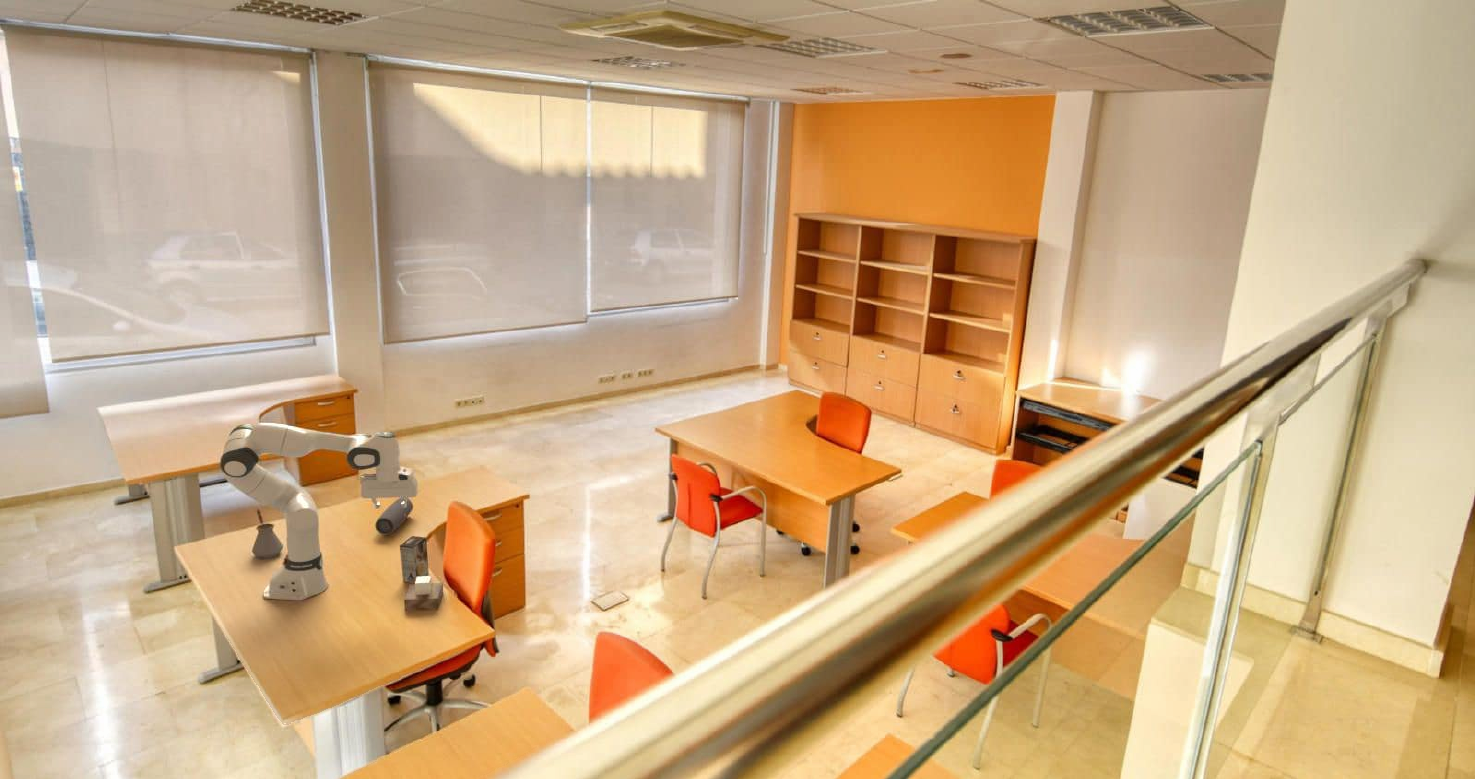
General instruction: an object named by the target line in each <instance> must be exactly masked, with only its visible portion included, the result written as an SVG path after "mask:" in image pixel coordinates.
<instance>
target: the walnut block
mask: <svg viewBox="0 0 1475 779" xmlns="http://www.w3.org/2000/svg"><path fill="white" fill-rule="evenodd" d="M443 596H444V583H443V582H433V583H432V582H431V591H430V594H424V595H416V589H415V583H410V584H409V587H408V588H407V591H406V595H405V596H404V600H403V602H404V603H403V604H404V612H411V611H412V612H415V611H431V610H432V611H435V610H437V611H438V610H439V608H440V605H441V602H442V599H443Z"/></svg>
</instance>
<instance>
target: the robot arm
mask: <svg viewBox="0 0 1475 779" xmlns="http://www.w3.org/2000/svg"><path fill="white" fill-rule="evenodd" d="M223 447H224V448H223V452H222V456H221V457H220V468H221V471H222V472H223V476H224V478H225V480H226V481H227V482H228V483H229V484H231V485H232V486H233V488H236V489H237V490H238V491H240V492H241V493H242V494H244V495H246V496H247V497H249V498H251V500H254V501H255V502H257V503H258V504H260V505H262V506H265V507H268V508H271V509H273V510H276V511H278V512H280V513H281V514H282V515H283V517H284V519H285V523H286V526H285V527H286V539H285V540H286V546H287V553H286V554H285V556H284V558H283V561H282V562H281V563H282V566H281V567H280V568H278V569H277V570H276V571H275V572H274V573H273V574H272V576H271V577H270V581H269V583H268V585H267V586H266V587H265V588H264V590H263V592H262V594H263V595H262V597H263V599H267V600H269V599H270V600H284V601H285V600H287V601H304V600H306V599H307V598H310V597H312V596H317V595H320V594H321V593H323V592H324V591H326V590H327V589H328V587H329V583H328V581H327V579H326V575H325V572H324V568H323V567H324V560H323V554H322V551H321V548H320V547H321V546H320V537H319V531H320V530H319V527H320V524H319V523H320V520H319V519H320V518H319V517H320V516H319V509H318V507H317V505H316V503H315V501H314V499H313V498H312V496H311V494H310V493H309V492H308V491H306V490H304V489H303V488H300V487H298V486H296V485H294V484H292V483H289V482H287V481H286V480H283V479H282V478H280V477H278V476H277V475H276V474H274V473H273V472H272V471H271V472H270V471H269V470H268V469H267V468H265V467H262V466H261V465H260V464H259V463H258V462H259V461H260V456H261V455H264V454H272V455H275V456H282V457H286V458H287V457H288V458H302V457H304V456H305V457H306V456H307V455H308V454H310V453H311V452H314V451H316V450H329V451H336V452H343V453H346V461H347V464H348V465H349V467H350V468H351V469H354V470H357V471H362V470H368V469H372V468H374V469H375V473H363V474H362V475H361V476H360V477H359V483H360V484H361V488H360V496H361V497H362V498H363V499H371V502H372V503H373V504H374V508H375V509H380V508H381V502H378V500H377V499H381V498H382V499H383V498H384V499H386V498H389V499H390V498H392V499H393V498H402V497H404V500H405V502H402V504H401V505H402V508H406V506H407V505H406V502H407V500H408V499H409V498H416V497H417V496H418V494H419V484H418V480H417V478H416V476H414V475H415V470H414V469H412V468H410V467H409V468H408V467H405V466H402V465H401V462H400V445H399V441H398V438H397V436H396V435H395V434H394V433H393V432H390V431H385V430H383V431H376V432H375V433H374V434H373V435H371V434H368V433H356V434H342V433H335V432H329V431H321V430H314V429H307V428H303V427H298V426H293V425H288V424H284V423H274V422H259V423H257V424H255V425H253V424H249V423H244V424H243V423H242V424H239V425H237V426H236V427H235V428H233V429H232V431H231V432H230V433H229V436H228V438H227V440H226V442H225V443H224V446H223ZM409 500H410V499H409Z"/></svg>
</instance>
